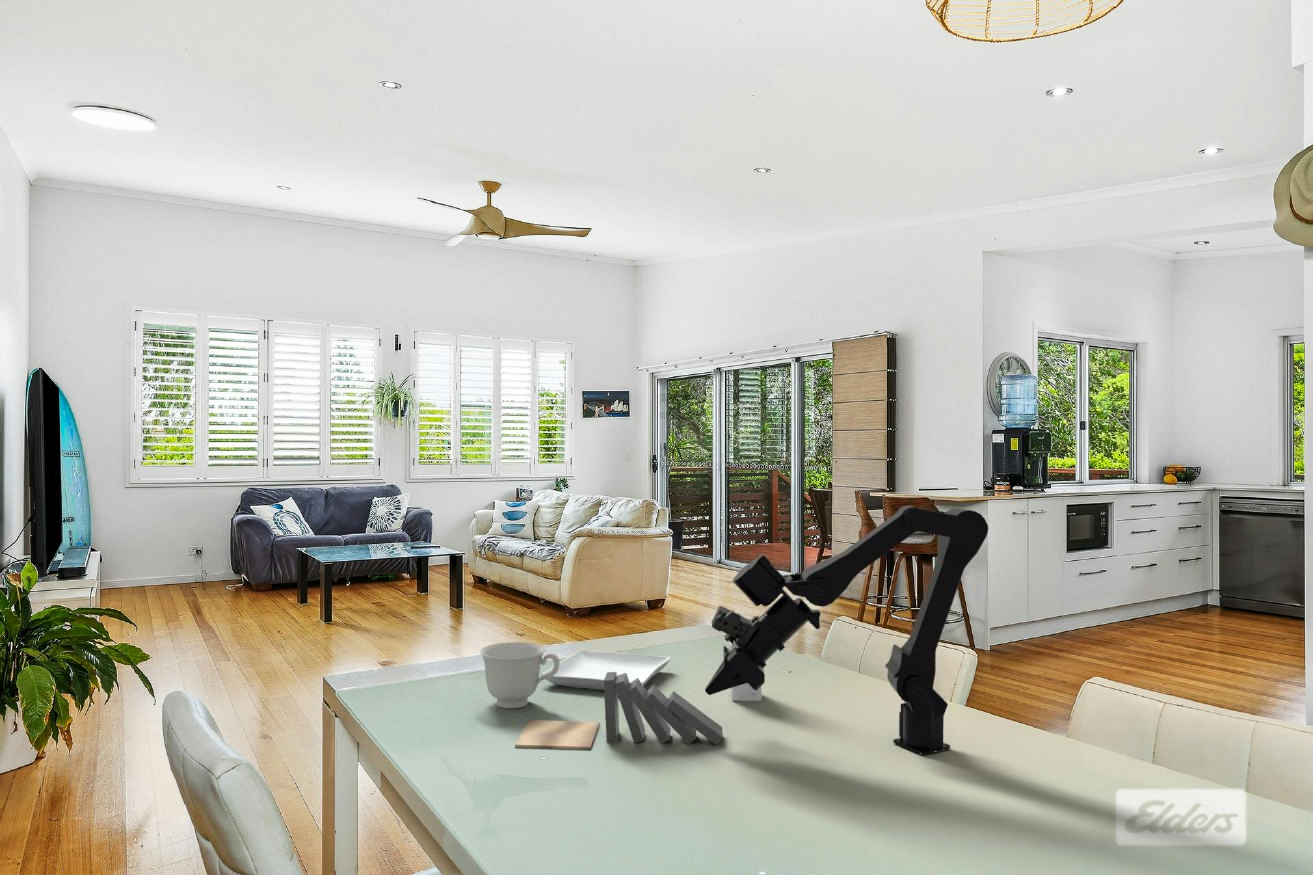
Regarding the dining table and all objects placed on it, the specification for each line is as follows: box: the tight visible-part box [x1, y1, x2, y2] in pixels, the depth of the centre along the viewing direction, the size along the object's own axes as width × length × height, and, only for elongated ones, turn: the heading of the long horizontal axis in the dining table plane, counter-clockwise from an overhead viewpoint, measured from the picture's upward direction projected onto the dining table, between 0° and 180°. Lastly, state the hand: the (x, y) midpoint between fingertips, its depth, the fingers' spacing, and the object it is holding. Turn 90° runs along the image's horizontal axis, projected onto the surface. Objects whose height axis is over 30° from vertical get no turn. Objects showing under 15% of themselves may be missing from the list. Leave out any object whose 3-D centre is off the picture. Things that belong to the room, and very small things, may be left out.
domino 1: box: [603, 672, 620, 743], centre depth 139 cm, size 2×5×10 cm, turn 177°
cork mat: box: [514, 719, 600, 750], centre depth 139 cm, size 12×12×1 cm
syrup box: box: [729, 618, 762, 702], centre depth 162 cm, size 6×6×14 cm
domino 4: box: [645, 684, 697, 745], centre depth 139 cm, size 2×5×10 cm
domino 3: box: [627, 678, 672, 745], centre depth 139 cm, size 2×5×10 cm
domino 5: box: [667, 691, 724, 746], centre depth 138 cm, size 2×5×10 cm
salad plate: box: [541, 650, 671, 691], centre depth 173 cm, size 21×21×3 cm
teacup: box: [479, 641, 560, 709], centre depth 156 cm, size 12×15×10 cm
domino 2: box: [614, 673, 646, 743], centre depth 139 cm, size 2×5×10 cm, turn 177°
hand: (706, 692), depth 138 cm, fingers closed
